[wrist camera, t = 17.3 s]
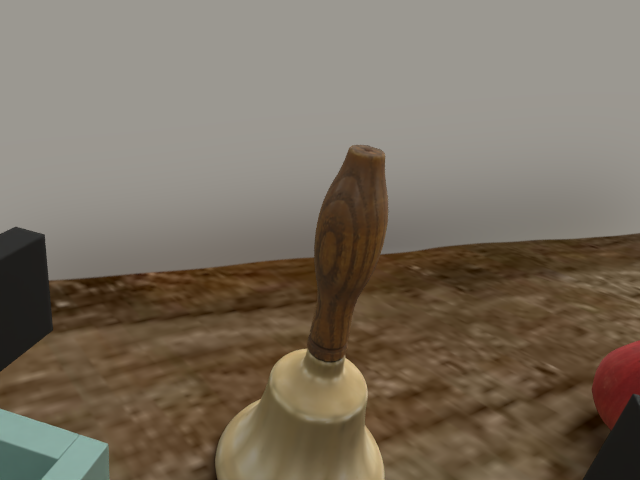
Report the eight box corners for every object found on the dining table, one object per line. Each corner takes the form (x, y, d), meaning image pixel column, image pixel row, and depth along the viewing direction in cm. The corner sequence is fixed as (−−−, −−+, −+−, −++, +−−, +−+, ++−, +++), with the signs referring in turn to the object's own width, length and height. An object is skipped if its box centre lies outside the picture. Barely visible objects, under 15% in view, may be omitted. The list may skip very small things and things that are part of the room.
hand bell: (396, 554, 21) (529, 211, 14) (198, 537, 20) (235, 165, 13) (373, 408, 28) (452, 137, 21) (229, 391, 27) (262, 104, 21)
